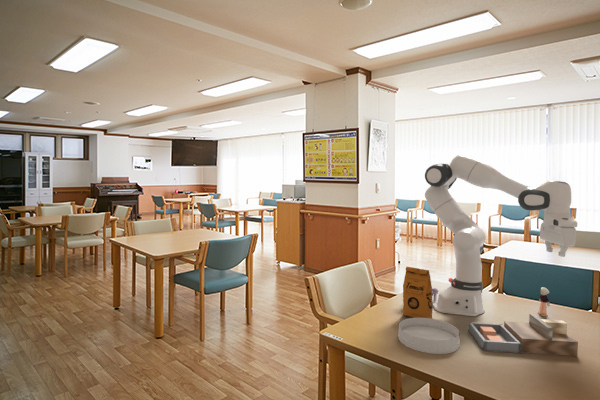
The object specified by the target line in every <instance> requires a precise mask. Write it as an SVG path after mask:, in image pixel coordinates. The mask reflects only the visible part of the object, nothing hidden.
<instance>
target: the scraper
mask: <svg viewBox="0 0 600 400" xmlns="http://www.w3.org/2000/svg"><path fill="white" fill-rule="evenodd" d="M528 321H529V322H528V323H529V324H530V325H531V326H532V327H534V328H535V329H536V330H537V331H538V332H540V333H541V334H542V335H543V336H545V337H546V338H547V339H552V333H555V334H568V333H567V331H568V323H567V322H566V321H564V320H562V319H561V320H558V319H543V318H539V316H537V315H536V314H535V313H529V319H528Z"/></svg>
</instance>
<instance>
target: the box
mask: <svg viewBox="0 0 600 400" xmlns="http://www.w3.org/2000/svg"><path fill="white" fill-rule="evenodd" d="M480 326H481V327H492V328H493V329H494V330H495V331H496V336H500V337H501V339H502V340H503V341H490V340H486V338H485V337H483V336H482V335H481V334H480ZM468 332H469V333H470V334H471V336H472V337H473V339H474V340H475V341H476V342H477V344H478V345H479V347H480V348H481V349H482V350H483V351H484V352H493V353H494V352H495V353H496V352H497V353H508V354H509V353H510V354H511V353H512V354H522V352H521V349H522V344H521V343H520V342H519V341H518V340H517V339H516V338H515V337H514V336H513V335H512V334H511V333H510V332H509V331H508V330H507V329H506V328H505V327H504V324H502V323H489V322H487V323H486V322H474V321H473V322H470V321H469V322H468Z"/></svg>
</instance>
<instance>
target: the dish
mask: <svg viewBox="0 0 600 400" xmlns="http://www.w3.org/2000/svg"><path fill="white" fill-rule="evenodd" d="M397 337H398V341H400V344H403V345H404V347H405V346H406V347H407V348H410V349H412V350H415V351H418V352H422V353H425V354H435V355H443V354H450V353H454V352H456V351H458V350H459V348H460V341H461V339H460V331H459V329H458V328H457V327H456V326H455V325H453V324H451V323H449V322H446V321H443V320H439V319H435V318H432V319H430V318H413V317H409V318H405V319H403V320H400V322H399V324H398V331H397Z"/></svg>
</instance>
